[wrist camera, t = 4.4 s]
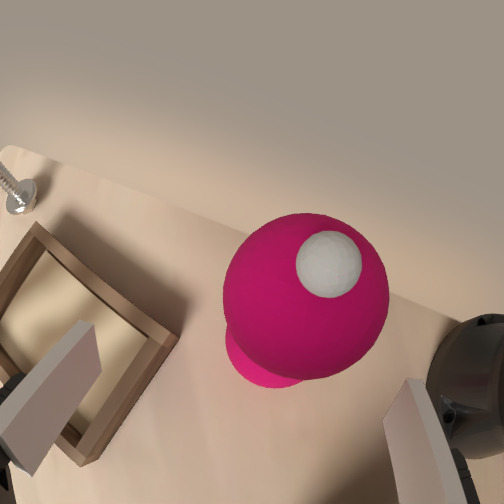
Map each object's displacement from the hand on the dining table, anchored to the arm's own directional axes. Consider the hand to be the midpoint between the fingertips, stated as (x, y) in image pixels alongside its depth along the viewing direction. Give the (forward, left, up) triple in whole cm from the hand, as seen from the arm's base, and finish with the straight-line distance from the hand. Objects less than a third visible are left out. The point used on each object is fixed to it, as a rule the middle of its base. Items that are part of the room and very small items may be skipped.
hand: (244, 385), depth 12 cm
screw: (+32, -1, -14) cm, 35 cm away
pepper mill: (0, -4, -14) cm, 15 cm away
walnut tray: (+16, +7, -14) cm, 22 cm away
